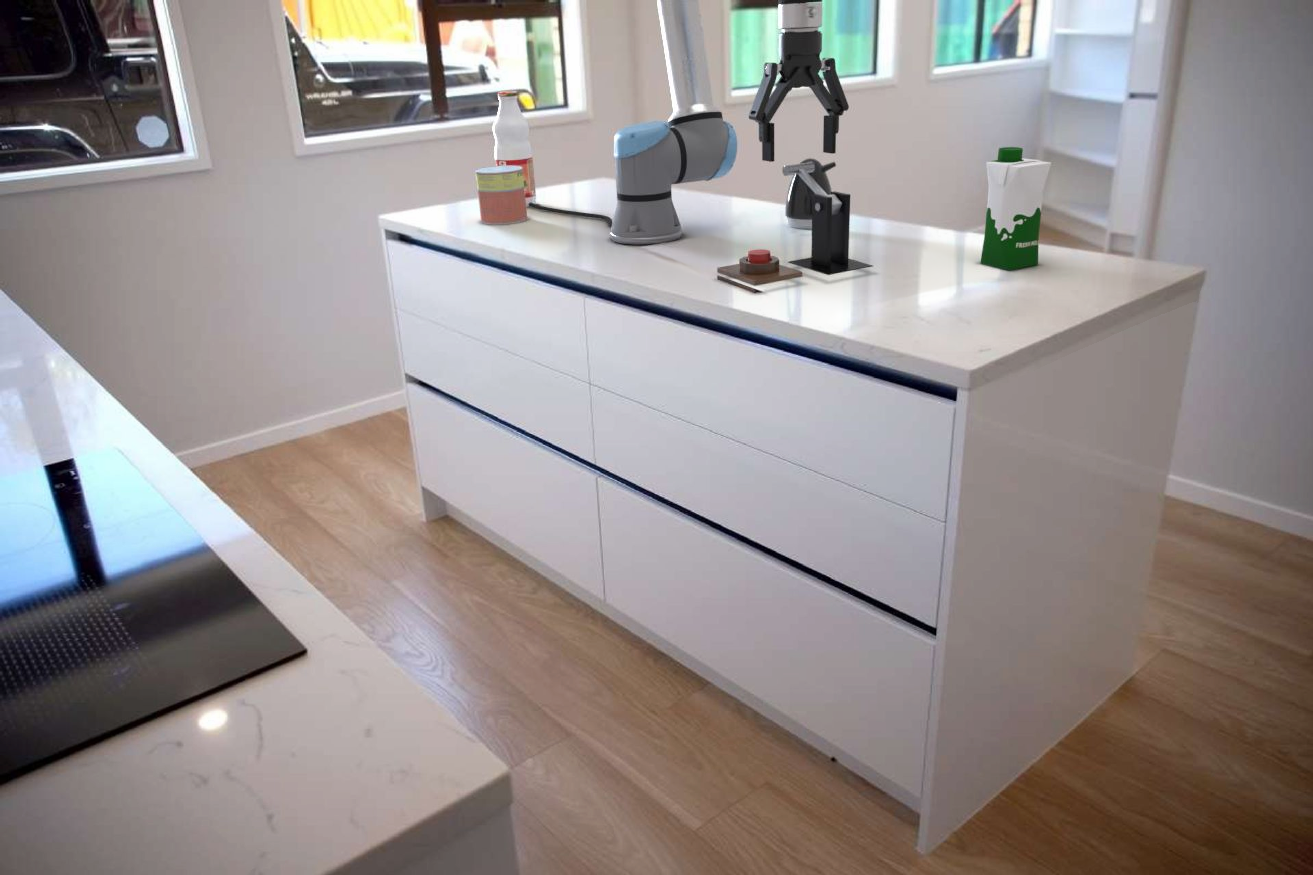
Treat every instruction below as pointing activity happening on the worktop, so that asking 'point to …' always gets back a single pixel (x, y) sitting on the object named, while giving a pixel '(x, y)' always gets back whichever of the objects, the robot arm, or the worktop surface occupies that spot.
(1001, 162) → the milk carton
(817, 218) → the black lever stand
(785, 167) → the tap lever
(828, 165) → the pump dispenser
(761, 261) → the button
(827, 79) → the robot arm
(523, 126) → the fruit juice
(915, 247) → the worktop surface
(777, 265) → the button box
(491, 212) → the canned food
